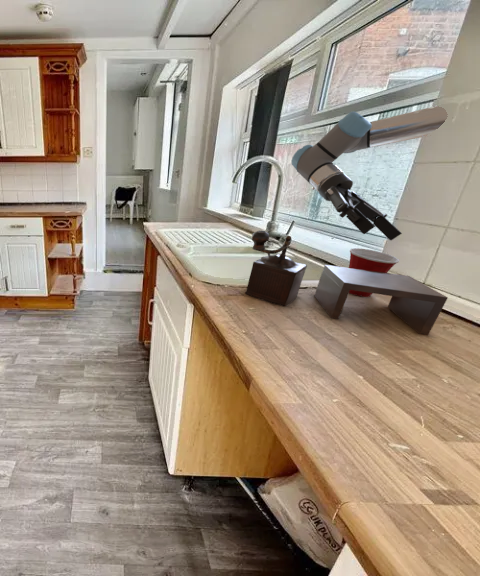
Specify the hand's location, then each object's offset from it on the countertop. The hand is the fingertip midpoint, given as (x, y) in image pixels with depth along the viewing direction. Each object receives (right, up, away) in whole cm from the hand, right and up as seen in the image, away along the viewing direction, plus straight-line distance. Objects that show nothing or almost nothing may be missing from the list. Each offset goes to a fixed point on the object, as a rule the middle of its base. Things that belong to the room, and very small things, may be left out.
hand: (383, 233), depth 79 cm
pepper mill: (-29, -17, +2) cm, 34 cm away
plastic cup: (+1, -16, +9) cm, 18 cm away
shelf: (-8, -20, -4) cm, 22 cm away
